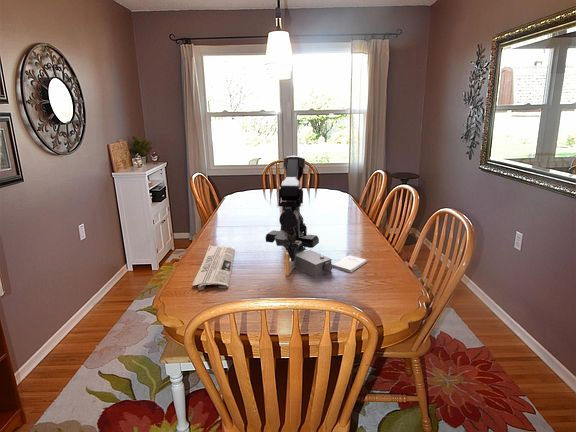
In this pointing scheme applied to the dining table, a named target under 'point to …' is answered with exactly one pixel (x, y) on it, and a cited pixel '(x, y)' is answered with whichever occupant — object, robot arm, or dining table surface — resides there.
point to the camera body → (313, 263)
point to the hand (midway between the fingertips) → (292, 261)
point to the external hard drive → (349, 263)
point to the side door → (289, 264)
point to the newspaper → (216, 267)
